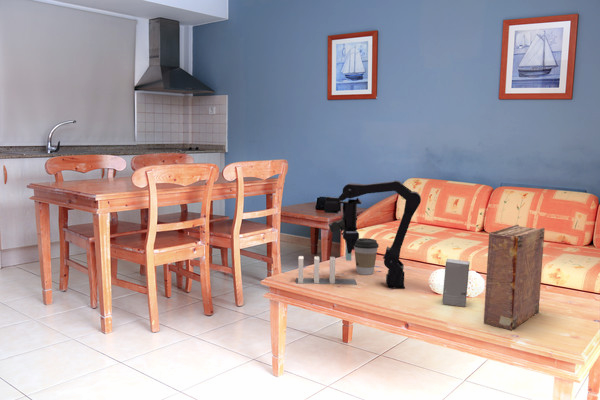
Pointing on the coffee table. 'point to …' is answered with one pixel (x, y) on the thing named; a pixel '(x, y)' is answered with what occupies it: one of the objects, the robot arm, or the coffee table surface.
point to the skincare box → (455, 282)
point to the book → (513, 276)
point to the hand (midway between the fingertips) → (348, 252)
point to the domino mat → (326, 281)
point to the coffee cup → (365, 255)
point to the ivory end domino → (300, 269)
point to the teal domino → (348, 255)
